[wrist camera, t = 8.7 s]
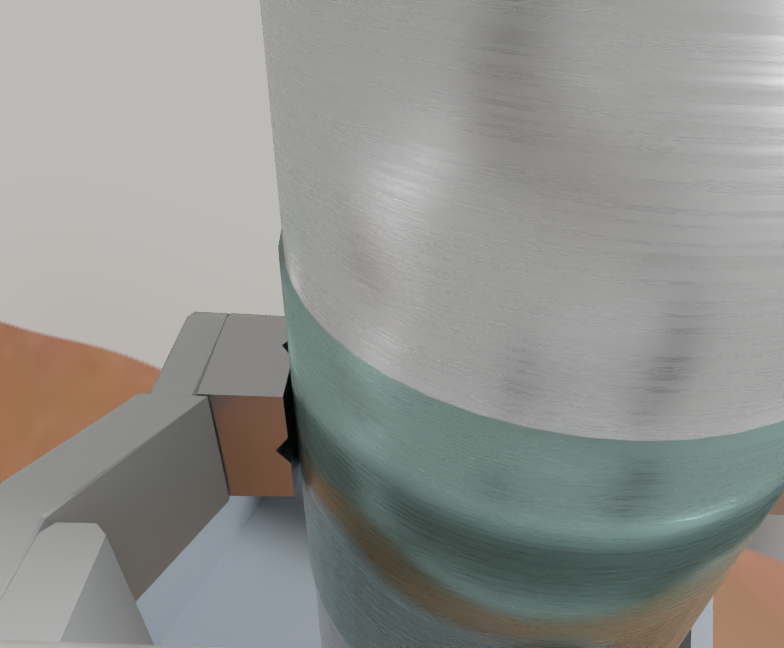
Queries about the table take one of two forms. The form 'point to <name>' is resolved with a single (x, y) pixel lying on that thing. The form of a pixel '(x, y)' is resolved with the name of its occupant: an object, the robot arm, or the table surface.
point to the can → (530, 310)
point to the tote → (258, 583)
